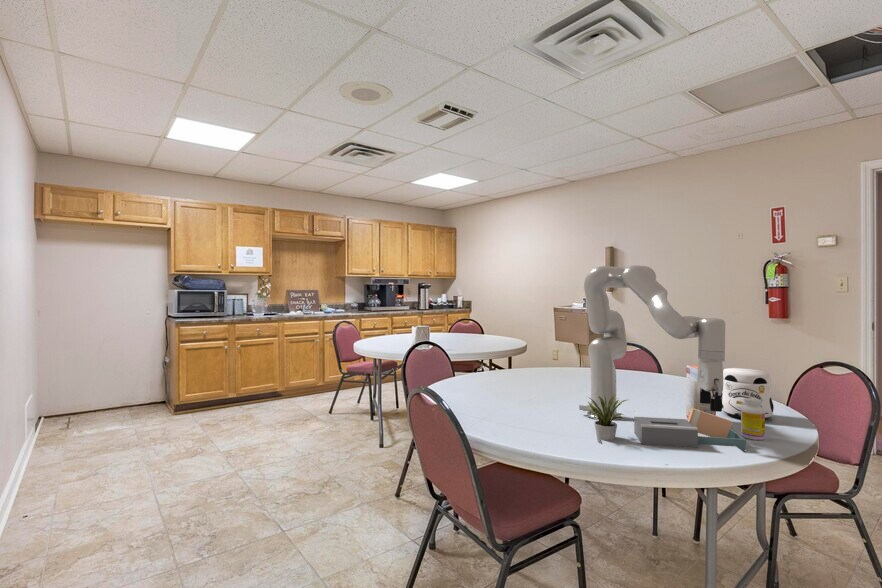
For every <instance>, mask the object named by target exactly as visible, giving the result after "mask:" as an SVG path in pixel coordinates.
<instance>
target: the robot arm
mask: <svg viewBox="0 0 882 588" xmlns="http://www.w3.org/2000/svg"><path fill="white" fill-rule="evenodd" d="M607 288H613V289H614V288H619V289H620V288H622V289H624V288H625V289H627V288H628V289H629V290H631V291H632V292H633V293H634V294H635V295H636V296H637V297H638V298H639V299H640V300H641V302H643V304H645V305H646V307H647V308H648V310H649V312H650V314H651V316H652V318H653V319H654V321H655V323H656V324H658V325H659V327H661V328H662V330H664V331H665V333H667V334H668V335H669V336H670V337H672V338H674V339H676V340H684V339H685V340H686V339H692V338H698V342H697V343H698V349H697V350H698V353H697V355H698V356H697V359H698V365H699V366H698V379H697V385H698V386H699V387H700V403H704V404H710V410H711V411H716V413H717V412H723V410H722V399H723V397H722V395H723V370H724V367H723V366H724V365H723V362H725V361H726V322H725V320H724V319H722V318H719V317H718V318H717V317H716V318H715V317H699V316H693V315H692V316H691V315H689V316H687V315H685V316H682V315H681V314H680V313H679V312H678V311H677V310H676V309H675V308H674V307H673V306H672V305H671V303H669V300H668V290H667V289H666V288H665V287H664V286H663V285H662V284H661V283H659V281H657V273H656V272H655V271H654V269H653V268H652V267H650V266H648V265H647V266H646V265H635V264H634V265H630V266H609V265H608V266H607V265H602V266H597V267H594V268H593V269H591V270H590V271H588V273H587V275H586V277H585V279H584V283H583V289H584V295H585V301H586V311H587V312H586V313H587V318H588V319H587V320H588V326H589V329H590V331H591V332H592V333H594V334H596V335H603V336H602V337H597V338H595V339H593V340H592V341H591V342H590V343H589V345H588V351H587V352H588V358H589V359H588V360H589V365H590V398H591V399H592V400H593V401H595V403H596V404H597V405H598V407H599V408H600V409H601V410H602V413H603V415H604V412H603V408H602V405H601V401H600V399H599V397H598V396H600V397H601V398H602V399H603V400H604V403H605V397H606V402H607V404H608V403H609V400H610V399H611V397H612V396H613V395H616V396H615V397H614V399H613V401H612V405H611V408H610V410H612V408H613V405H614V404H615V402H616V401H617V370H616V369H617V368H616V366H615V362H614V360H619V359H622V358H623V357H624V356H626V353H627V350H628V342H627V335H626V327H625V320H624V318H623V316H622V315H621V314H620V313H619V312H618V311H617V310H613V309H610V300H609V296H608V294H607V292H606V290H605V289H607ZM709 391H710V392H709ZM714 392H715V394H714ZM596 394H597V395H598V396H597V395H596ZM604 395H605V397H604ZM711 397H712V398H711ZM591 399H590V403H591V404H592V405H593V406H594V407H596V406H595V405H594V404H593V403H592V402H593V401H592V400H591ZM616 406H617V405H616ZM616 406H615V407H616ZM596 408H597V407H596ZM607 408H608V406H607ZM578 409H579V410H578V411H583V412H586V415H587V417H589V418H591V419H593V420H596V421H599V420H598V416H597V415H596V414H594V413H591V412H594V411H590V410H592V408H591V407H590V405H589V404H587V405H583V404H582V405H581V404H579V405H578ZM597 410H598V409H597ZM598 411H599V410H598ZM618 413H619V412H617V408H616V409H615V411H614V412H613V414H612V417H614V416H615V415H616V414H618ZM594 416H595V417H597V418H592V417H594ZM612 417H611V419H612ZM616 417H622V415H617V416H616ZM620 419H621V418H616V419H613V420H612V422H614V421H619V420H620Z"/></svg>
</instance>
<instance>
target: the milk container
mask: <svg viewBox="0 0 882 588" xmlns="http://www.w3.org/2000/svg"><path fill="white" fill-rule="evenodd" d="M771 380H772V379H771V373H770V372H769V371H767V370H766V371H765V370H761V369H754V368H741V367H740V368H739V367H730V368H723V392H722V393H723V395H722V397H723V399H722V412H723V413H724V414H727V415H728V416H731V417H735V418H739V419H741V408H742V406H745V402H744V399H745V398H754V399H759V400H761V405H760V407H761V408H763V409H764V411H765V420H766V419H767V420H768V419H770V418H771V417H772V416H773V414H774V410H775V409H774V408H775V406H774V402H773V399H772V394H771V386H772V385H771V384H772V383H771Z"/></svg>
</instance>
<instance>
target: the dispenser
mask: <svg viewBox="0 0 882 588" xmlns="http://www.w3.org/2000/svg"><path fill="white" fill-rule="evenodd" d="M633 423H634V424H633V425H634V426H633V427H634V428H633V429H634V431H633V432H634V434H635V436H636V438H637V439H638V441H639V442H640V444H641V445H644V446H659V447H660V446H661V447H675V448H689V449H690V448H691V449H699V443H698V436H699V433H698V428H697V427H694V426H693V425H691V424H690V423H689V422H688V419H685V418H669V417H668V418H666V417H650V416H649V417H646V416H634V421H633Z"/></svg>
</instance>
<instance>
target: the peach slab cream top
mask: <svg viewBox="0 0 882 588" xmlns="http://www.w3.org/2000/svg"><path fill="white" fill-rule="evenodd" d="M687 421H688V422H689V423H690V424H691V425H693V426H694V427H697V428H698V434H701V435H703V436H705V437H719V438H727V436H728V433H729V430H730V428H731V427H732V424H733V421H732V420H730V419H727V418H724V417H721V416H719V415H716V416H715V415H712V414H709V413H706V412H703V411H700V410H697V409H693V408H692V409H691V412H690V415H689V418H688V417H687ZM731 429H732V428H731Z"/></svg>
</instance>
